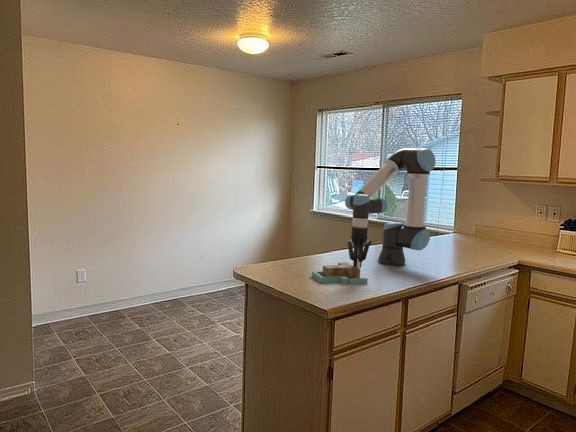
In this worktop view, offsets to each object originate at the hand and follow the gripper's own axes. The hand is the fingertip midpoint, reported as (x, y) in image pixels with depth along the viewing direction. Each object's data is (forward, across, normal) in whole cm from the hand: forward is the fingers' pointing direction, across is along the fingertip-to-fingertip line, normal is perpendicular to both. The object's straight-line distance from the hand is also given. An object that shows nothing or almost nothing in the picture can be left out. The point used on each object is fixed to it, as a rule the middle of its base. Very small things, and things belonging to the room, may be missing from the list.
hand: (356, 274), depth 210 cm
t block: (+2, +10, 0) cm, 10 cm away
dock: (+2, +10, 0) cm, 11 cm away
